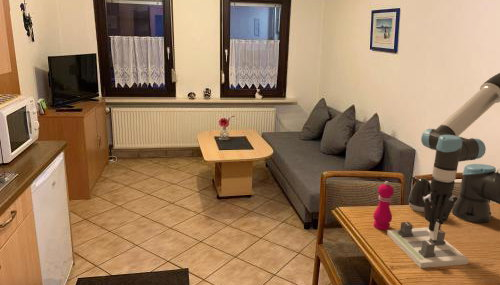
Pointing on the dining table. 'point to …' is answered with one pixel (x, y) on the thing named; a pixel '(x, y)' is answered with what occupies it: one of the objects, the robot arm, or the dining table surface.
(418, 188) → the black glossy egg shape
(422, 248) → the breaker
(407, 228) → the breaker
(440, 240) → the breaker
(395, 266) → the dining table surface
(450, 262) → the panel
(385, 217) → the pepper mill
